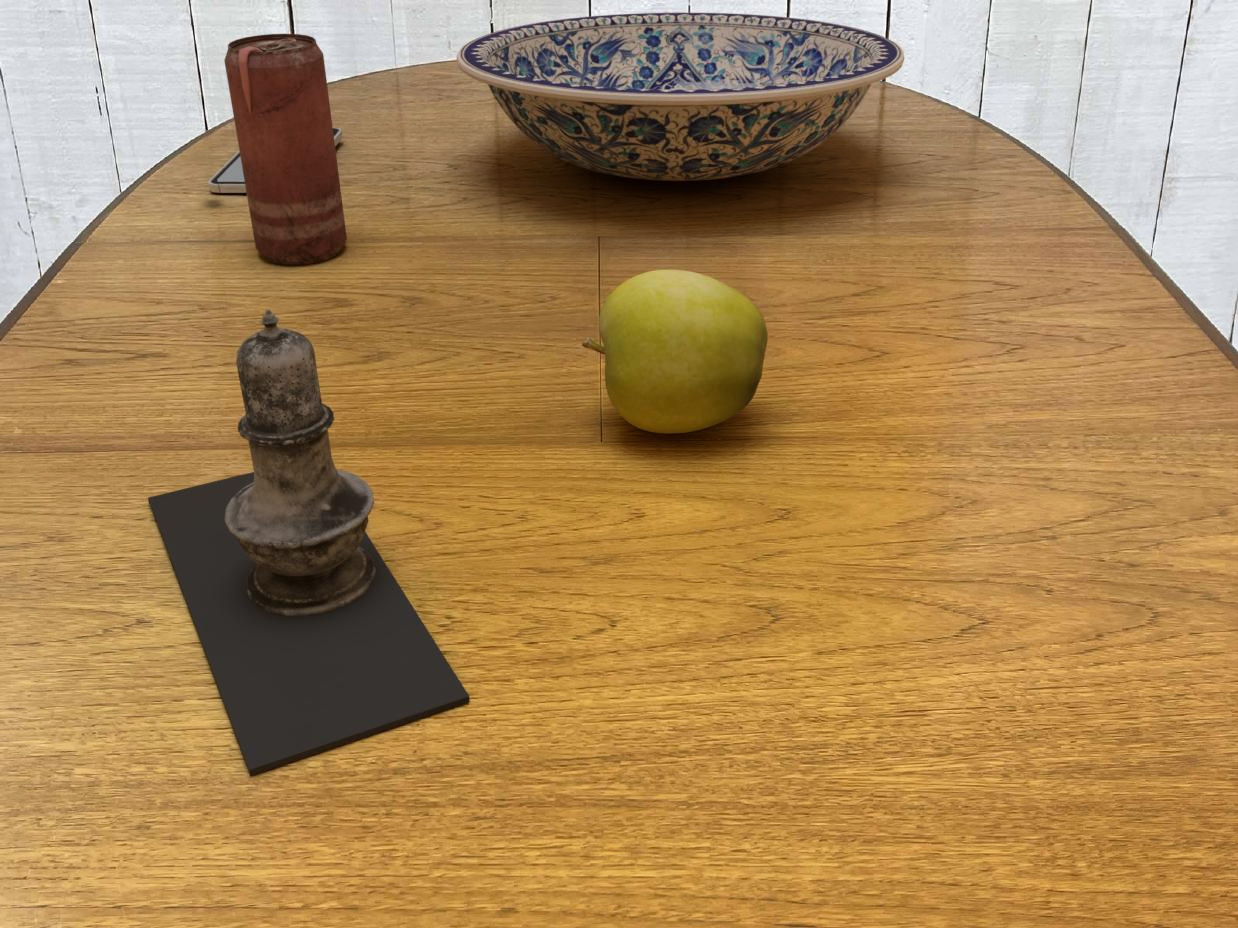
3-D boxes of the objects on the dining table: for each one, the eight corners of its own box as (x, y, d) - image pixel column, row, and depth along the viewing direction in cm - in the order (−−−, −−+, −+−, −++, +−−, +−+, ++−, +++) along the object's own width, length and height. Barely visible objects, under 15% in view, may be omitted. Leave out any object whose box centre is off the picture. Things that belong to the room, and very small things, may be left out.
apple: (585, 390, 67) (581, 249, 63) (755, 389, 67) (762, 247, 63) (581, 463, 61) (576, 310, 57) (769, 462, 61) (778, 308, 57)
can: (239, 264, 84) (201, 49, 77) (282, 232, 90) (251, 29, 83) (322, 271, 83) (291, 53, 76) (361, 238, 88) (336, 32, 81)
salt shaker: (231, 554, 54) (179, 293, 48) (368, 527, 55) (334, 271, 49) (247, 634, 49) (191, 354, 43) (396, 601, 51) (362, 328, 45)
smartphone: (203, 184, 97) (261, 127, 110) (206, 196, 97) (263, 138, 110) (297, 184, 96) (344, 127, 109) (299, 196, 97) (346, 138, 110)
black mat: (250, 776, 43) (248, 769, 42) (148, 502, 58) (147, 497, 58) (470, 702, 46) (469, 695, 46) (318, 461, 61) (317, 455, 61)
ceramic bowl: (858, 111, 116) (868, -3, 111) (930, 240, 87) (948, 93, 82) (489, 113, 117) (482, 0, 112) (436, 242, 88) (423, 97, 82)
